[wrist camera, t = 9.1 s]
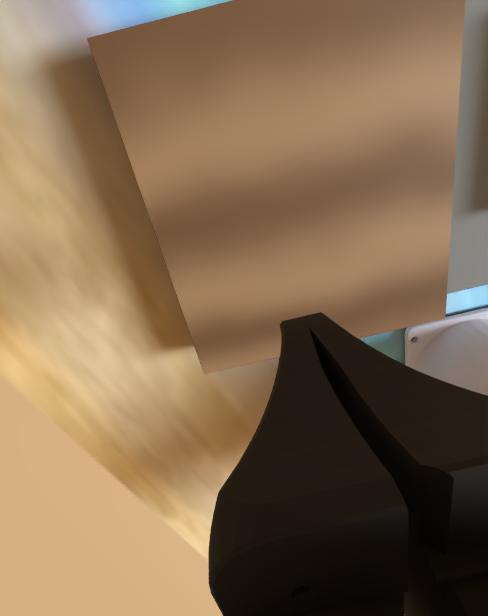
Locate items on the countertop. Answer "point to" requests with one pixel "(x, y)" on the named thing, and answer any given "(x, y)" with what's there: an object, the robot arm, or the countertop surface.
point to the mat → (471, 158)
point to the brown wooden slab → (294, 161)
